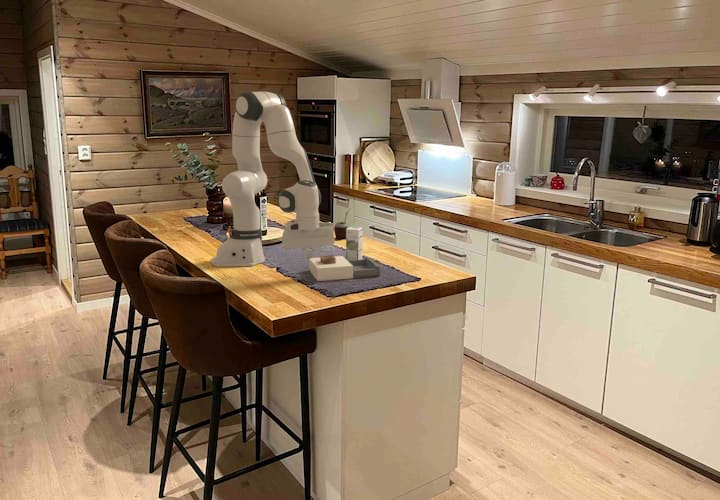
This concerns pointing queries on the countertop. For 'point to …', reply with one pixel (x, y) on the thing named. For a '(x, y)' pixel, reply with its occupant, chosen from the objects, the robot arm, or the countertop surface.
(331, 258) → the walnut tile
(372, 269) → the charcoal box
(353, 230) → the syrup box
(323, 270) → the cream square block
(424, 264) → the countertop surface
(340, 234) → the mate gourd
